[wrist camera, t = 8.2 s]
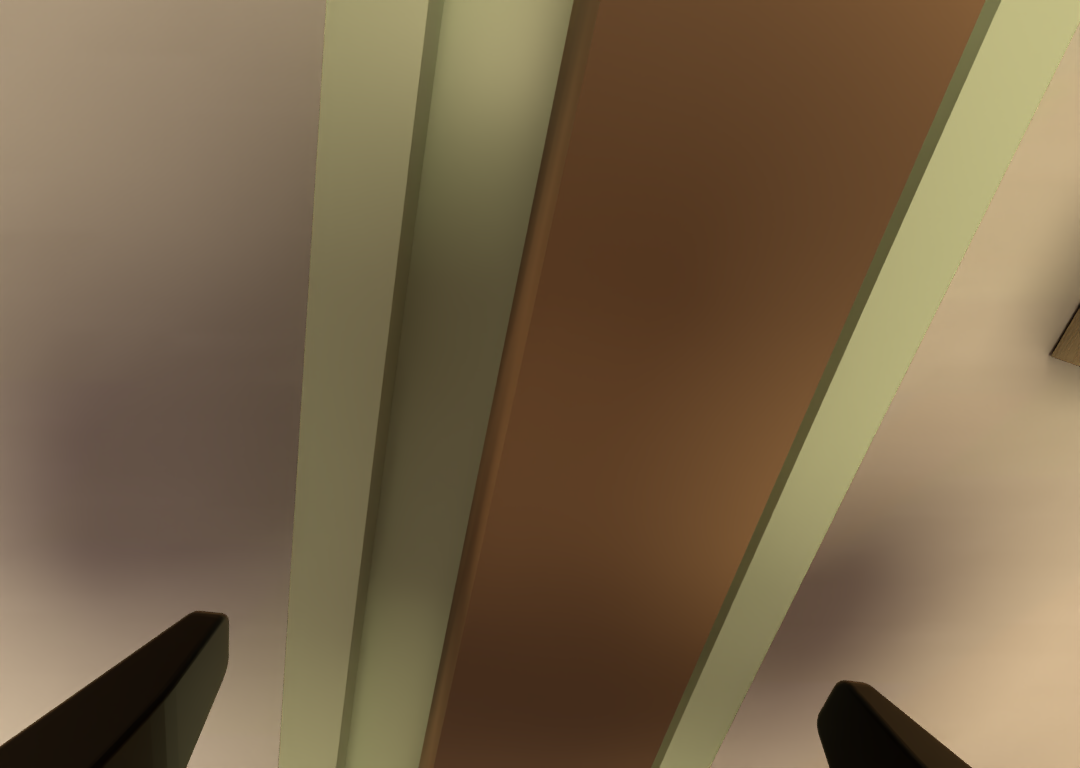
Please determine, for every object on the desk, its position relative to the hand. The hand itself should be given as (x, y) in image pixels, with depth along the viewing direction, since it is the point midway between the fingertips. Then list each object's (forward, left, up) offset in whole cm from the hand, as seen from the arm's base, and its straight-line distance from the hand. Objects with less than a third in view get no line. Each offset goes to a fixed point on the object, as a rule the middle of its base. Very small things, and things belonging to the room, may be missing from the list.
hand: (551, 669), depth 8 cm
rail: (0, 0, -2) cm, 2 cm away
